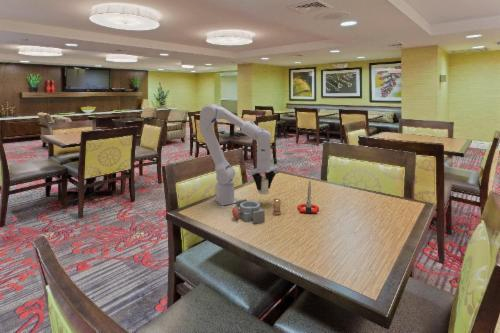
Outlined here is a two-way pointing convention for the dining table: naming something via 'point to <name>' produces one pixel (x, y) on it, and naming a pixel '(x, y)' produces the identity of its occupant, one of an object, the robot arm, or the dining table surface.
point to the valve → (249, 211)
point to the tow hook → (308, 204)
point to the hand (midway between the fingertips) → (263, 188)
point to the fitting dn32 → (276, 207)
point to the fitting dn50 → (264, 186)
